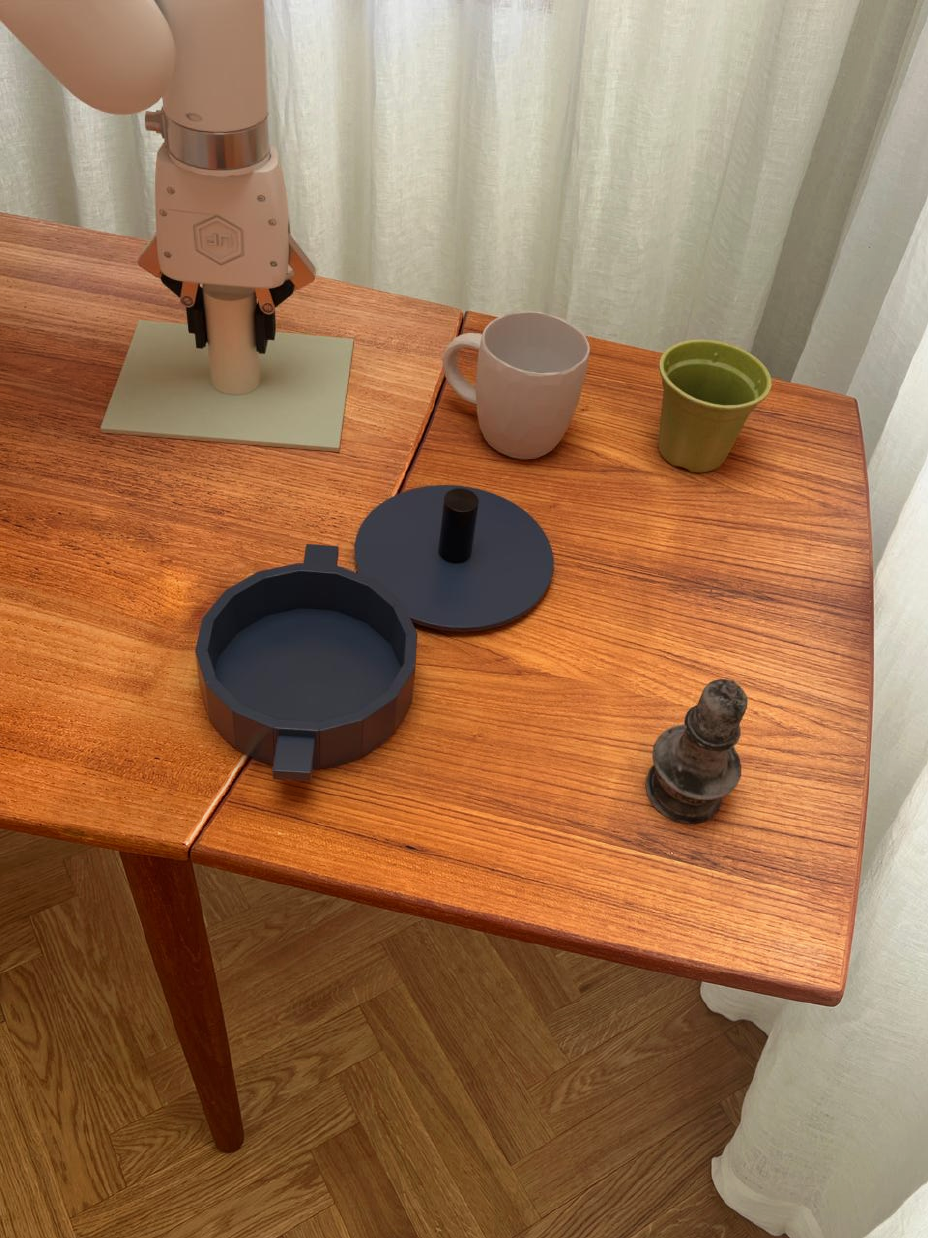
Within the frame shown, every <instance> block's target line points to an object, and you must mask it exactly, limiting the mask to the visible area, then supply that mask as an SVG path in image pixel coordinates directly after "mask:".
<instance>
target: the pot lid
mask: <svg viewBox="0 0 928 1238" xmlns="http://www.w3.org/2000/svg"><path fill="white" fill-rule="evenodd" d="M353 547H354V548H353V551H354V554H353V559H354V564H355V568H356V571H357V573H359V574H361V575H364V576H366V577H369V578H372V579H374V580H376V581H377V582H378V583H379V584H381V585H382V586H383V587H384V588H385V589H386V590H388V591H389V592H390V593H391V594H392V595H394V596H395V597H396V598H397V599H398V600H399V601H401V602H402V603H403V605H404V607H405V609H406V611H407V613H408V615H409V617H410V619H411V621H412V623H413V624H416V625H419V626H421V627H426V628H430V629H435V630H440V631H448V632H465V633H466V632H467V633H468V632H479V631H484V630H490V629H495V628H499V627H501V626H505V625H507V624H509V623H512V622H514V621H516V620H518V619H520V618H521V617H523V616H524V615H526V614H527V613H529V612H530V611H531V610H532V609H534V608H535V607H536V606H537V604H538V603H539V602H540V601H542V599H543V597H544V596H545V594H546V593H547V591H548V589H549V587H550V584H551V582H552V578H553V573H554V567H555V566H554V565H555V559H554V553H553V548H552V545H551V543H550V540H549V538H548V536H547V534H546V532H545V530H543V528H542V526H541V525H540V523H539V522H537V521H536V519H535V518H534V517H532V515H531V514H529V513H528V511H526V510H525V509H523V507H521V506H519V505H517V504H516V503H514V502H512V501H510V500H508V499H507V498H505V497H503V496H500V495H498V494H497V493H493V492H490V491H486V490H484V489H480V488H476V487H471V486H465V485H457V484H435V485H426V486H420V487H416V488H412V489H408V490H405V491H402V492H399V493H397V494H395V495H393V496H391V497H389V498H387V499H386V500H384V501H382V502H381V503H379V504H378V505H377V506H376V507H375V508H373V509H372V510H371V511H370V512H369V513H368V515H366V517H364V520H363V521H362V522H361V524H360V526H359V528H358V530H357V533H356V535H355V541H354V546H353Z"/></svg>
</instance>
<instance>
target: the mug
mask: <svg viewBox="0 0 928 1238" xmlns="http://www.w3.org/2000/svg"><path fill="white" fill-rule="evenodd" d="M462 349H472V350H476V351H478V355H477V365H476V374H475V386H474V385H473V384H472V383H471V382H470V381H468V380H467V379H466V378H465V377H464V375H463V374H462V371H461V370H460V367H459V363H458V354H459V352H460V351H462ZM590 351H591V348H590V343H589V341H588V339H587V336H585V334H584V333H583V332H582V331H581V330H580V329H579V328H578V327H577V326H575V325H574V324H572V322H571V323H570V322H569V321H568V320H566V319H565V318H562V317H559V316H557V315H553V314H550V313H546V312H543V311H534V310H517V311H514V312H509V313H506V314H502V315H499V316H498V317H497V318H495V319H494V320H491V321H490V322H489V323H488V324H487V325H486V326H485V328H484V330H483V332H482V333H478V332H467V333H463V334H459V335H458V336H456V337H454V338H453V339H452V341H451V342H450V343H449V344H448V345H446V348H445V351H444V353H443V356H442V370H443V374H444V378H445V379H446V382H447V383H448V385H449V386H450V388H451V389H452V391H453V392H454V393H455V394H456V395H458V397H460V398H461V399H462V400H464V401H466V402H468V403H471V404H473V405H475V406H476V415H477V421H478V424H479V430H480V432H481V433H482V437H483V438H484V439H485V442H487V444H488V445H489V446H490V447H491V448H492V449H494V450H495V451H496V452H498V453H499V454H502V455H504V456H507V457H510V458H512V459H518V460H531V459H532V460H535V459H538V458H540V457H543V456H545V455H547V454H548V453H551V451H553V450H554V449H555V447H556V446H557V445H558V444H559V443H560V442H561V440H562V439H563V438H564V436H565V433H566V432H567V430H568V428H569V426H570V425H571V422H572V420H573V418H574V415H575V413H576V410H577V408H578V405H579V402H580V398H581V395H582V392H583V387H584V383H585V380H586V376H587V373H588V372H587V371H588V364H589V359H590V354H591V352H590Z"/></svg>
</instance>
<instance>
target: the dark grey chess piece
mask: <svg viewBox="0 0 928 1238" xmlns="http://www.w3.org/2000/svg"><path fill="white" fill-rule="evenodd" d="M748 701H749V700H748V696H747V694H746V692H745V690H744V689H743V687H741V686H740V685H739V684H738V683H737V682H735V680H733V679H727V678H718V679H713V680H711V681H710V682H708V684H706V686H704V688H703V689H702V692H701V694H700V697H699V699H698V701H697V703H696V705H693V706H691V708H690V709H689V710H688V711H686V714H685V716H684V722H683V724H679V725H673V726H672V727H670V728H667V729H666V730H664V731H662V732H661V734H660V735H658V737H657V738H656V740H655V742H654V745H653V747H652V762H653V765H652V766H651V767H650V769H649V771H648V773H647V774H646V777H645V784H644V786H645V792H646V796H647V798H648V799H649V802H650V804H651V805H652V806H653V807H654V809H656V811H657V812H659V813H660V814H661V815H662V816H664V817H665V818H667V819H669V820H671V821H673V822H675V823H679V824H684V825H699V824H703V823H706V822H708V821H710V820H712V819H713V818H714V817H715V816H716V815H717V814H718V813H719V812H720V809H721V806H722V805H723V799H724V797H725V796H727V795H729V794H731V793H732V792H733V791H734V790H735V788H736V787H738V784H739V783H740V781H741V777H742V768H743V767H742V763H741V758H740V755H739V754H738V752H737V750H736V749H735V746H736V745H737V744H738V743H739V741H740V739H741V733H742V729H741V725H740V724H741V722H742V720H743V718H744V716H745V713H746V711H747V709H748Z"/></svg>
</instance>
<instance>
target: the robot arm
mask: <svg viewBox="0 0 928 1238" xmlns="http://www.w3.org/2000/svg"><path fill="white" fill-rule="evenodd" d="M265 13H266V12H265V0H0V22H1V23H2V24H3V25H4V26H5V28H7V30H9V31H10V33H11V34H12V35H13V36H14V37H15V38H16V39H17V40H18V41H19V42H20V43H21V44H22V45H23V46H24V47H25V48H26V49H27V50H28V51H29V52H30V53H31V54H32V55H33V56H34V57H35V59H37V61H38V62H40V63H41V65H42V66H43V67H44V69H46V70H47V71H48V72H49V73H50V74H51V75H52V76H53V77H54V78H55V79H56V80H57V81H58V82H59V83H60V84H61V85H62V86H63V87H64V88H65V89H66V90H67V91H68V92H69V93H70V94H71V95H73V96H74V97H75V98H77V99H78V100H79V101H80V102H82V103H83V104H85V105H87V106H89V107H90V108H92V109H95V110H97V111H99V112H102V113H105V114H110V115H117V116H118V115H120V116H121V115H122V116H128V115H133V114H138V113H142V112H143V111H145V114H144V125H145V126H144V127H145V130H146V131H147V132H155V133H156V134H160V135H161V138H162V139H163V140H164V141H163V143H162V144H161V146H160V147H159V148H158V150H157V151H156V158H155V159H156V160H155V173H154V216H155V232H154V233H153V235H152V236H151V238H150V239H149V240H148V241H147V243H146V244H145V246H144V247H143V248H142V249H141V252H140V254H139V256H138V260H137V265H138V267H140V268H142V270H144V271H146V272H147V273H149V274H151V275H152V276H153V277H155V278H156V279H157V278H158V279H159V280H160V281H161V283H162V284H163V285H164V286H165V287H166V288H168V290H170V291H171V292H172V293H173V294H174V295H176V296H177V297H178V298H179V302H180V304H181V305H182V306H183V307H185V313H186V322H187V324H188V331H189V333H192V334H195V341H196V348H199V349H203V347H206V343H207V335H206V324H205V313H204V302H203V290H202V285H203V284H211V285H222V286H234V287H246V288H254V290H255V293H256V296H257V307H256V311H255V335H256V351H257V352H259V354H265V352H266V347H267V343H268V340H274V339H275V334H276V332H277V325H276V322H277V321H276V308H277V307H278V306H280V305H281V304H283V302H285V301H286V300H288V298H290V297H291V296H292V295H293V294H294V293H295V292H296V291H299V290H302V289H304V288H305V287H306V286H308V285H310V284H312V283H314V282H315V280H316V275H317V268H316V266H315V265H314V263H313V262H312V261H311V260H310V258H309V257H308V256H307V254H306V253H305V252H304V250H303V249H302V248H301V247H300V245H299V244H298V243H297V241H296V240H295V239H294V237H293V236H292V234H291V223H290V222H291V221H290V211H289V202H288V196H287V195H288V194H287V188H286V182H285V177H284V172H283V171H284V170H283V167H282V163H281V159H280V155H279V152H278V150H277V148H276V147H275V146H274V145H273V144H271V143H270V118H269V116H270V115H269V92H268V65H267V63H268V62H267V42H266V41H267V39H266V15H265ZM160 100H161V101H162V106H161V108H160V109H156V110H155V111H152V110H151V111H149V110H148V109H150V108H151V107H153V106H154V105H156V104H157V103H158V102H159V101H160ZM289 268H291V270H290V272H288V271H289ZM201 284H202V285H201Z"/></svg>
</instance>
